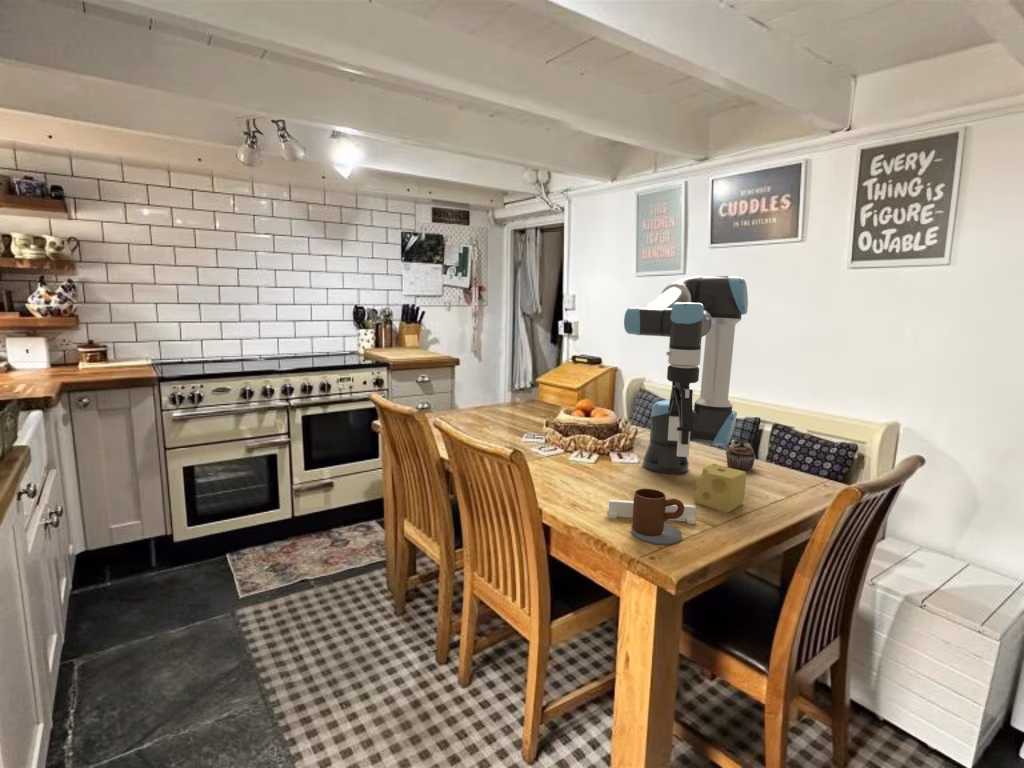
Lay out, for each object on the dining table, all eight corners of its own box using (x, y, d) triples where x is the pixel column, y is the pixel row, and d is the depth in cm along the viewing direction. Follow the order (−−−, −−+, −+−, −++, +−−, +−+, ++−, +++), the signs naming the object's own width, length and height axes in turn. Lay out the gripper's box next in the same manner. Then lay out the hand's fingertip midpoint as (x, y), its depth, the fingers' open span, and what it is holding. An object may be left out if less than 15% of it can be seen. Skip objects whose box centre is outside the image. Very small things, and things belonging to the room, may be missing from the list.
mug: (684, 530, 134) (687, 494, 133) (679, 543, 127) (683, 504, 126) (635, 521, 139) (637, 486, 137) (628, 532, 132) (631, 495, 131)
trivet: (628, 522, 140) (629, 519, 140) (676, 525, 139) (676, 522, 139) (633, 542, 129) (634, 539, 128) (686, 546, 127) (686, 543, 127)
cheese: (693, 503, 155) (695, 469, 153) (710, 494, 162) (713, 462, 161) (728, 514, 148) (732, 479, 146) (745, 504, 155) (748, 470, 154)
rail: (607, 511, 147) (608, 497, 146) (691, 517, 144) (693, 503, 144) (608, 517, 143) (609, 503, 142) (695, 523, 140) (696, 509, 140)
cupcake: (758, 472, 184) (761, 444, 183) (728, 470, 186) (730, 442, 184) (750, 464, 194) (753, 437, 192) (721, 462, 195) (724, 435, 193)
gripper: (660, 358, 147) (655, 433, 151) (676, 373, 123) (670, 463, 127) (689, 359, 147) (683, 435, 151) (711, 374, 122) (703, 464, 126)
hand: (677, 448), depth 139 cm, fingers open, 13 cm apart
